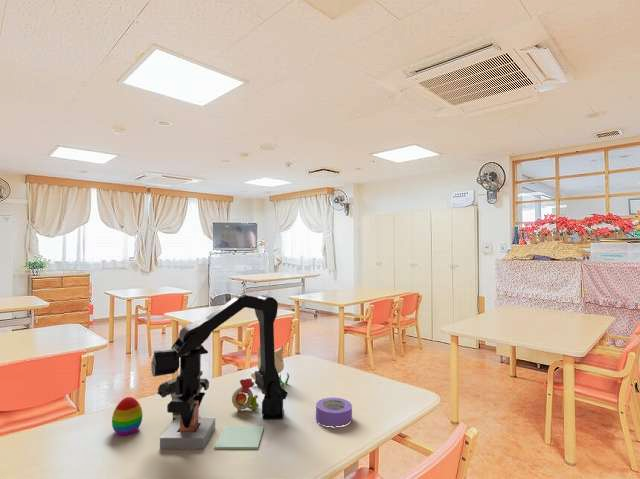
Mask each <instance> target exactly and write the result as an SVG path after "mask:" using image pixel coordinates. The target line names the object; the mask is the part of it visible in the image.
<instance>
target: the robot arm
mask: <svg viewBox="0 0 640 479" xmlns="http://www.w3.org/2000/svg"><path fill="white" fill-rule="evenodd" d="M278 303H279V302H278V300H276V298H274V297H271V296H268V295H264V294H262V295H259V296H252V295H247V294H243V293H239V294H236V296H235V297H233V298H231V300H229V301H227V302H226V303H225V304H223V305H222V306H221V307H218V309H216V310H215V311H213V312H212V313H211V314H209V315H207V316H206V317H204V318H202V319H199V320H197V321H194V322H191V323H189V324H188V325H186V326H184V327H182V328H181V329H180V330H179V333H178V337H177V339H176V340H175V342H174V344H172V346H171V347H170V348H171V349H166V350H165V349H164V350H154V351H153V356H152V360H151V361H150V365H151V366H150V367H151V375H152V377H153V378H156V377H160V376H161V377H162V376H167V375H172V374H175V373H176V372H178V369H179V374H178V375H177V377H175V378H172V379H170V380H167V381H164V382H162V383H160V384H159V386H158V387H157V395H159V396H160V397H161V398H166V397H167V396H169V395H170V396H171V394H173V393H175V395H180V394H182V396H181V397H175V398H174V399H173V400H172V399H171V400H170V401H169V402H168V404H167V406H166V408H167V410H166V412H167V413H168V414H169V413H180V415H181V417H182V421H183V424H184V427H185V428H188V427H189V425H190V423H191V420H192V417H193V414H194V411H195V409H196V406H197V404H194V401H199V407H200V406H201V404H202V401H203V400H204V398H205V395H206V392H201V390H202V389H203V390H204V391H208V389H209V387H210V381H209V380H208V379H207V378H201V377H202V376H203V373H204V372H203V370H201V365H202V362H201V360H202V356H201V355H206V354H209V351H208V350H207V348H205V347H204V346H203V343H205V341H207V340H208V339H209V337H210V335H211V334H212V333H213V332H214V331H215V330H216V329H218V327H219V326H221V325H223V324H224V323H226V322H228V320H230V319H231V318H232V317H234V316H235V315H237V314H238V313H239V312H241V311H242V310H243V309H245V308H248V309H252V310H253V309H254V312H255V317H256V318H257V320H258V324H259V347H260V356H261V366H260V369H258V370H255V371H254V373H255V377H256V379H255V380H254V385H255V384H256V387H257V388H258V390H260V391H261V393H262V395H264V396H263V399H262V401H261V415H262V419H263V420H264V419H265V420H278V419H280V420H281V419H283V417H284V412H285V410H284V400H286V398H287V396H288V391H287V390H285V389H284V388H283V387H282V383H281V382H280V378H279V377H280V374H279V373H278V372H277V370H276V367H275V351H274V350H275V328H274V326H275V325H274V324H275V321H276V319H277V316H278V308H279V304H278Z"/></svg>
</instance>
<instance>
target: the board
mask: <svg viewBox="0 0 640 479" xmlns="http://www.w3.org/2000/svg"><path fill="white" fill-rule="evenodd" d="M264 428H265V426H264V425H224V426H223V429H222V430H221V433H220V435H219V437H218V439H217V441H216V443H215V445H214V448H213V449H214V450H258V449H259V448H260V447H259V446H260V442H261V439H262V435H263V432H264Z"/></svg>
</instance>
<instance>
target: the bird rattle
mask: <svg viewBox="0 0 640 479" xmlns="http://www.w3.org/2000/svg"><path fill="white" fill-rule="evenodd" d="M252 379H253V378H252V377H251V378H245V379H243V378H242V379H240V380H239V383H240V385H241V386H240V387H239V388H237V389H235V391H234V392H233V393H232V396H231V403H232V404H233V407H235V409H236V410H237V412H240V411H242V410H245V409H248V408H249V407H251V410H253V411H255V410H256V409H257V408H259V407H260V406H259V403H258V402H257V399H258V397H259V396H258V394H253V392H252V390H251V389H250V388H253V387H254V385H255V381H254V382H253V380H252ZM247 396H248V397H247Z"/></svg>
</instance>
